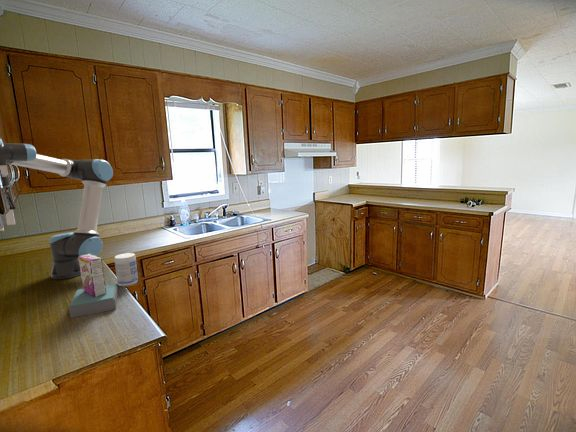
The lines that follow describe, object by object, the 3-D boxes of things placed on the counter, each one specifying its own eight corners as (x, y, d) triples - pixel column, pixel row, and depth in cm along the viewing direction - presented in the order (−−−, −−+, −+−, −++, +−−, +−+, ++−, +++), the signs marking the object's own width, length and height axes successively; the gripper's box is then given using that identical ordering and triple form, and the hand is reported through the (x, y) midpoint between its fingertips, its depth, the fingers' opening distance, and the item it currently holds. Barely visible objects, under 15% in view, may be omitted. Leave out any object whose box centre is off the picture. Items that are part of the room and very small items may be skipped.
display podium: (77, 300, 139) (76, 289, 138) (118, 292, 146) (116, 282, 145) (70, 317, 123) (68, 306, 122) (116, 308, 130) (114, 297, 129)
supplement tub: (137, 285, 154) (133, 257, 151) (115, 288, 151) (112, 259, 148) (139, 278, 163) (136, 251, 160) (119, 281, 160) (116, 253, 157)
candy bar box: (82, 292, 135) (77, 256, 132) (94, 288, 139) (90, 253, 136) (94, 298, 129) (89, 260, 126) (107, 293, 133) (102, 257, 130)
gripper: (-4, 175, 134) (5, 223, 138) (-32, 178, 112) (-20, 235, 116) (18, 174, 137) (26, 221, 141) (-5, 177, 115) (6, 232, 119)
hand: (5, 227), depth 128 cm, fingers open, 13 cm apart
